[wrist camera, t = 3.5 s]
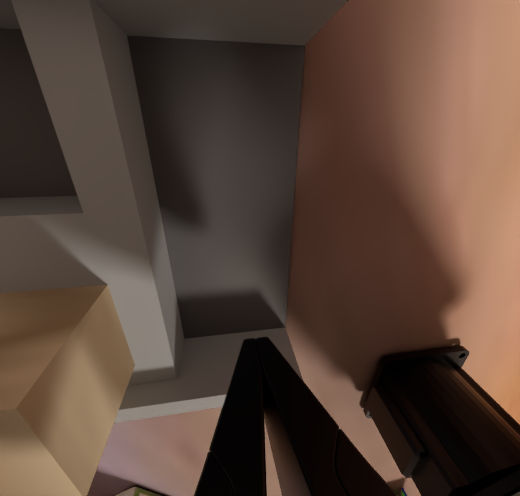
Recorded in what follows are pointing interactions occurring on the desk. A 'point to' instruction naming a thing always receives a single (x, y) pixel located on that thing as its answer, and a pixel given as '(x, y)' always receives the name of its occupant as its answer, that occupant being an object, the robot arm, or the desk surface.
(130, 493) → the syrup box
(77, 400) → the wooden cube
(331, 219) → the desk surface
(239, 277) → the tray
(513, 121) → the desk surface
